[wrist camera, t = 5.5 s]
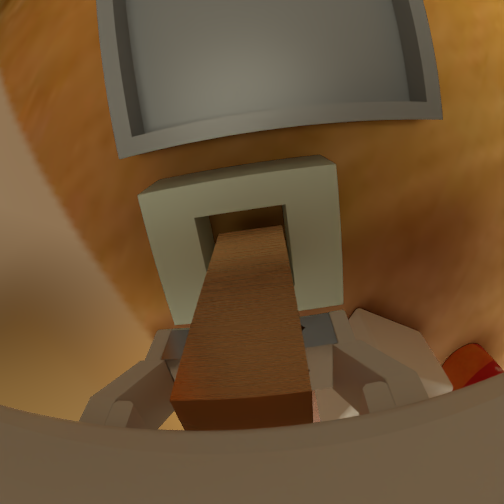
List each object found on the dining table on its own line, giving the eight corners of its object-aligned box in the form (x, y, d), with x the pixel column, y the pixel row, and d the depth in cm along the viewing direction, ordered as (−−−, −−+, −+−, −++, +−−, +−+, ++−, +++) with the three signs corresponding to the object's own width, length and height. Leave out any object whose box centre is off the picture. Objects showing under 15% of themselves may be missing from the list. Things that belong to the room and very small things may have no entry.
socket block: (319, 154, 19) (335, 164, 15) (329, 272, 22) (343, 304, 18) (158, 179, 19) (137, 195, 16) (186, 291, 22) (175, 324, 19)
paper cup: (477, 380, 27) (530, 472, 15) (422, 398, 28) (467, 506, 15) (499, 326, 24) (573, 422, 11) (440, 342, 25) (510, 463, 12)
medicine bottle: (309, 370, 26) (330, 498, 15) (356, 304, 23) (413, 436, 12) (373, 387, 27) (409, 496, 16) (420, 330, 24) (484, 439, 13)
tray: (379, -64, 12) (394, -82, 9) (419, 117, 17) (442, 119, 15) (112, -34, 13) (94, -50, 10) (137, 152, 19) (119, 159, 16)
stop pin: (281, 225, 15) (311, 390, 6) (288, 280, 16) (313, 458, 7) (218, 233, 15) (169, 400, 6) (230, 288, 17) (204, 464, 7)
